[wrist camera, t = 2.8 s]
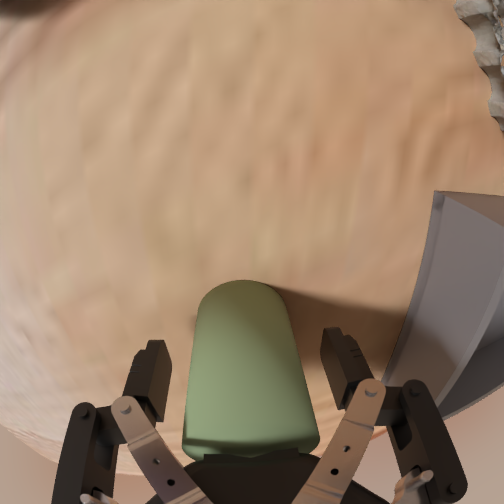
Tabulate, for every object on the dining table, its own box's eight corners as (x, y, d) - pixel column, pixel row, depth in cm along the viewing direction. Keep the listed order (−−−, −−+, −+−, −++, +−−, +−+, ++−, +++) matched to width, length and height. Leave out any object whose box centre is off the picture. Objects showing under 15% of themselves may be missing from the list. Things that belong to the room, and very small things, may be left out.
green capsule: (190, 283, 14) (164, 422, 7) (287, 276, 14) (330, 411, 7) (205, 350, 16) (197, 470, 9) (285, 344, 16) (311, 462, 9)
